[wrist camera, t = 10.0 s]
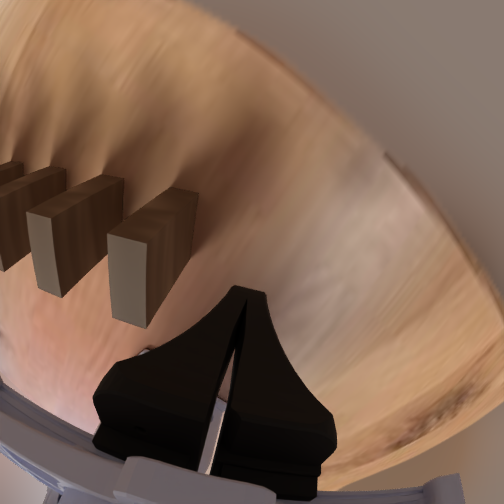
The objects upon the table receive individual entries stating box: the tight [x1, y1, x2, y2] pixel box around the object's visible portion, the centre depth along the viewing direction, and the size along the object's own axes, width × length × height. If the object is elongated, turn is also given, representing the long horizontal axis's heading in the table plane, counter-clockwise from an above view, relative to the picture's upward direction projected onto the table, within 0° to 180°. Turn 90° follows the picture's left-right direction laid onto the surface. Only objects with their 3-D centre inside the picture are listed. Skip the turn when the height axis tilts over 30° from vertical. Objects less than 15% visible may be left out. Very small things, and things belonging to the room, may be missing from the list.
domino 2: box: [26, 175, 124, 298], centre depth 15 cm, size 2×4×7 cm, turn 168°
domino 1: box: [107, 187, 199, 329], centre depth 15 cm, size 2×4×7 cm, turn 168°
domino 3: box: [0, 166, 66, 272], centre depth 15 cm, size 2×4×7 cm, turn 169°
